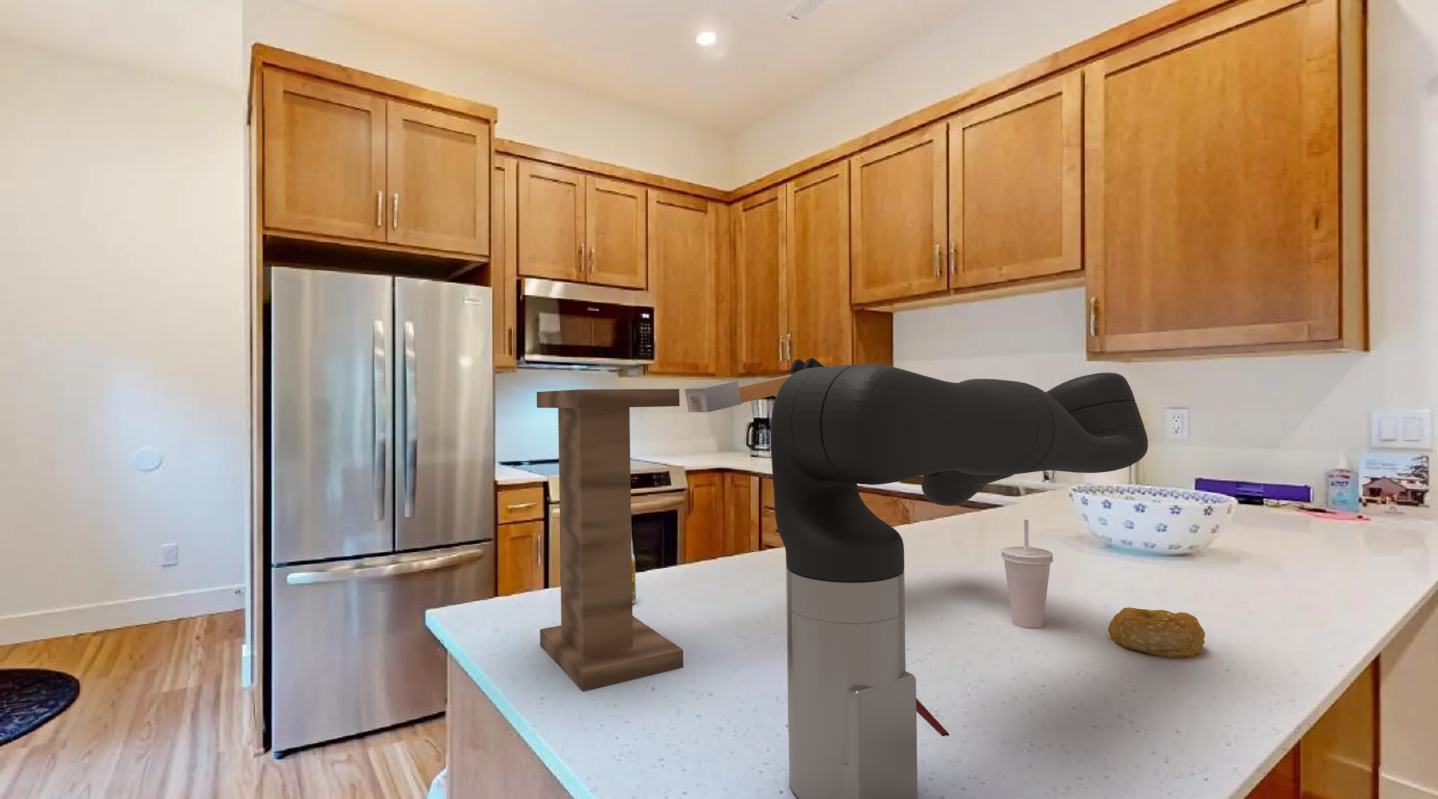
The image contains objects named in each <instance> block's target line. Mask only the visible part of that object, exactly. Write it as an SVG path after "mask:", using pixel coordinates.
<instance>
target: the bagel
mask: <svg viewBox="0 0 1438 799" xmlns="http://www.w3.org/2000/svg"><path fill="white" fill-rule="evenodd" d="M1108 635H1109V637H1110V640H1111V641H1113V642H1114V643H1115V644H1117V645H1120V646H1121V647H1123V648H1125V649H1128V650H1132V651H1136V652H1141V653H1145V654H1148V655H1152V656H1157V657H1164V658H1170V659H1183V658H1191V657H1194V656H1198V655H1199V654H1200V653H1201V652H1202V651H1203V649H1204V648H1203V646H1204V644H1205V636H1206V633H1205V630H1204V627H1202V625H1201V624H1200V622H1199V619H1198V618H1197V617H1195V615H1192V614H1190V613H1188V612H1183V611H1182V612H1181V611H1179V612H1176V613H1175V612H1171V611H1170V610H1165V609H1147V608H1146V609H1145V608H1135V607H1128V606H1127V607H1123V608H1122V609H1121V610H1120V611H1119V612H1118V613H1116V614H1115V615H1114V616H1113V618H1112V619H1111V621H1110V622H1109V626H1108Z"/></svg>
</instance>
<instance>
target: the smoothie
mask: <svg viewBox="0 0 1438 799" xmlns="http://www.w3.org/2000/svg"><path fill="white" fill-rule="evenodd" d="M1029 533H1030V532H1029V519H1023V544H1024V545H1023V546H1009V547H1008V546H1007V547H1004V548H1002V549H1001V555H1000V557H1001V559H1003V562H1004V570H1005V577H1006V583H1007V584H1006V585H1007V590H1008V598H1009V605H1010V611H1011V618H1012V623H1013V624H1014V625H1016V626H1018V627H1023V628H1026V629H1028V628H1029V629H1038V628H1041V627H1043V626H1044V619H1045V611H1046V603H1047V597H1048V596H1047V595H1048V588H1049V580H1050V579H1049V577H1050V571H1051V563H1053V562H1054V558H1053V556H1054V555H1053V552H1052V551H1050V550H1047V549H1044V548H1038V547H1032V546H1029V543H1030V542H1029Z"/></svg>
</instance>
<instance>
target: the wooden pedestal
mask: <svg viewBox="0 0 1438 799" xmlns="http://www.w3.org/2000/svg"><path fill="white" fill-rule="evenodd" d="M680 401H681V400H680V388H624V389H623V388H621V389H620V388H618V389H617V388H616V389H615V388H614V389H612V388H610V389H605V388H602V389H598V388H596V389H593V388H592V389H586V388H585V389H581V388H580V389H578V388H577V389H565V390H563V389H562V390H548V391H547V390H545V391H536V408H538V409H557V410H558V411H557V415H558V416H557V417H558V418H557V419H558V420H557V424H558V429H557V430H558V484H559V486H558V488H559V493H558V494H559V498H558V499H559V552H560V553H559V556H560V557H559V561H560V562H559V563H560V566H559V567H560V568H559V569H560V620H561V622H560V625H556V626H551V627H544V628H540V629H539V642H540V643H539V646H540V647H541V648H543V650H544V651H545V652H546V653H547V654H548V655H549V656H550V658H551V659H553V661H554V662H555V663H556V664H557V665H558V666H559V668H560V669H562V670H563V672H564V673H565V674H566V675H567V676H568V677H569V678H570V679H571V680H572V681H573V682H574V683H575V685H576V686H577V687H578V688H579V689H580V690H581V691H582V692H586V691H590V690H593V689H599V688H602V687H607V686H610V685H615V684H618V683H623V682H627V681H632V680H636V679H638V678H643V677H646V676H647V677H648V676H651V675H656V674H659V673H660V674H661V673H664V672H668V671H672V670H676V669H681V668H684V649H683V648H682V647H680V646H679V645H677V644H676V643H674V642H672V641H671V640H669V639H668V638H667V637H665V636H664V635H662V634H660V633H659V632H657V631H656V630H655V629H653V628H652V627H650V626H649V625H647V624H645V623H644V622H643V621H641V620H640V619H638V618H637V617H636V616H634V615H633V604H632V554H633V552H632V549H633V547H632V492H631V490H632V489H631V488H632V487H631V485H632V483H631V482H632V481H631V480H632V478H631V428H630V427H631V425H630V424H631V422H630V421H631V420H630V419H631V417H630V416H631V415H630V414H631V413H630V412H631V411H630V408H661V407H663V408H664V407H669V408H670V407H680Z"/></svg>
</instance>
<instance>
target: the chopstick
mask: <svg viewBox="0 0 1438 799" xmlns="http://www.w3.org/2000/svg"><path fill="white" fill-rule="evenodd" d="M916 713H917V714H918V715H920V716H921V717H922V718H923V719H924V720H925V721H926V722H927V723H928V724H929V725H930V726H931V727H932V728H934V730H935V731H936V732H938V733H939V735H940V736H942V737H945V736H946V737H947V736H950V734H949V732H948V730H946V728H945V727H944V726H943V725H942V724H941V723H940V722H939V721H938V720H937V718H935V717H934V715H933V714H931V712H930V710H928V709H927V708H926V707H925V706H924V704H923V703H921V701H919V699H918V698H917V697H916Z"/></svg>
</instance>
